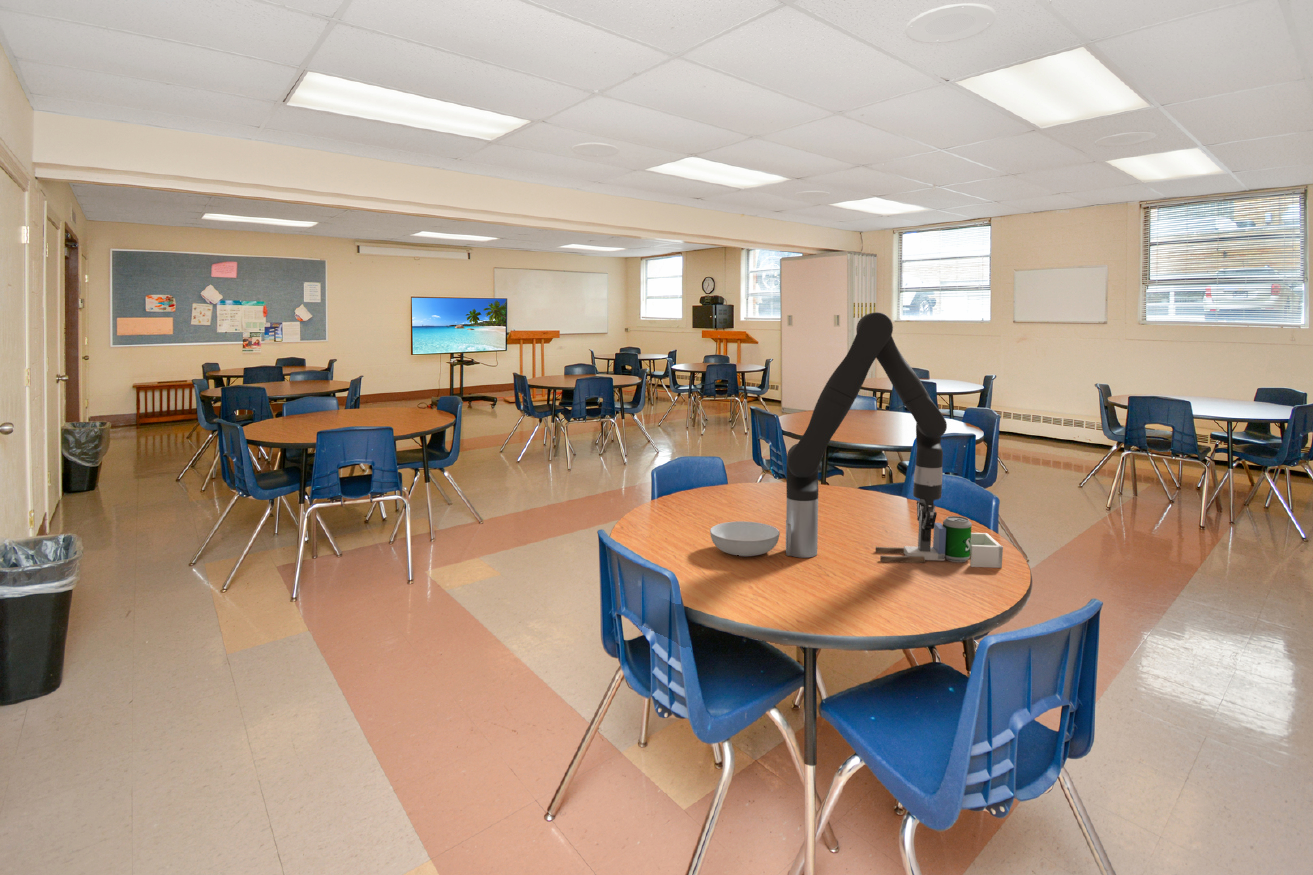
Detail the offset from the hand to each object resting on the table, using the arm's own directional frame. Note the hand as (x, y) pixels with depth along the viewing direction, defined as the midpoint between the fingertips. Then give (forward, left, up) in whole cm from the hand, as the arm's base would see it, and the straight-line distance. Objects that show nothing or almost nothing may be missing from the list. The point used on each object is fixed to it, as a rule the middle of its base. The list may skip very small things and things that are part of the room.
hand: (924, 539), depth 194 cm
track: (-7, 0, -6) cm, 9 cm away
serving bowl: (-52, +1, -6) cm, 52 cm away
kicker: (0, 0, -6) cm, 6 cm away
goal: (+15, 0, -6) cm, 16 cm away
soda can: (+9, 0, -6) cm, 10 cm away
